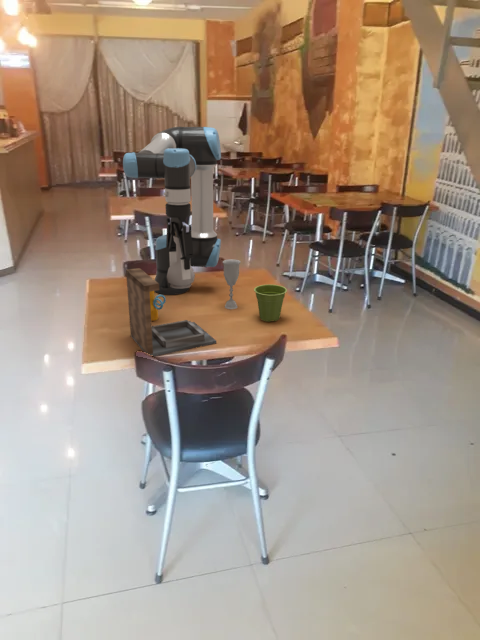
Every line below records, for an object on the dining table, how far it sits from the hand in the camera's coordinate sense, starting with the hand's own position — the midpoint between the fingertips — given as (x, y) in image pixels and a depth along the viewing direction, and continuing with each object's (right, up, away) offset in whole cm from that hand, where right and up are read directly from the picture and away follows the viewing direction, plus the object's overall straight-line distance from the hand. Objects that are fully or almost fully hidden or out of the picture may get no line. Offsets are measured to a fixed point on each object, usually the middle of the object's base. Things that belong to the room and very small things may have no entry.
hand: (180, 275), depth 159 cm
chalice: (+15, -9, +36) cm, 40 cm away
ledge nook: (-3, -21, +6) cm, 22 cm away
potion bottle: (0, -3, +1) cm, 4 cm away
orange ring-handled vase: (-14, -14, +23) cm, 30 cm away
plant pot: (+30, -14, +25) cm, 41 cm away
